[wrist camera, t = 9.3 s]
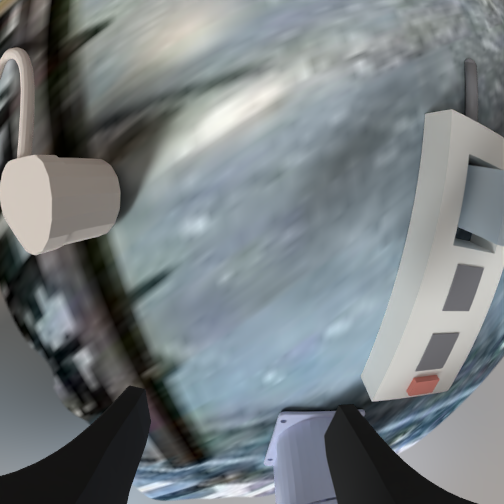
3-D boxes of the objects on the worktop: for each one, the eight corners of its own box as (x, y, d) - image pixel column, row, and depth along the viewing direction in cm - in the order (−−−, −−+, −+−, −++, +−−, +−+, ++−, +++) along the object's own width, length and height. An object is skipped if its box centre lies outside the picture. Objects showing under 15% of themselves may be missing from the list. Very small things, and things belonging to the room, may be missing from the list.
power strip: (433, 370, 21) (450, 394, 18) (360, 376, 21) (374, 407, 17) (498, 81, 13) (527, 77, 10) (425, 38, 13) (453, 23, 9)
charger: (466, 225, 17) (521, 250, 11) (439, 219, 17) (496, 244, 11) (475, 172, 16) (534, 184, 10) (448, 162, 15) (510, 170, 10)
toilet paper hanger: (-1, 50, 11) (112, 5, 8) (41, 58, 16) (171, 41, 12) (-28, 271, 17) (59, 377, 14) (9, 260, 22) (107, 345, 18)
